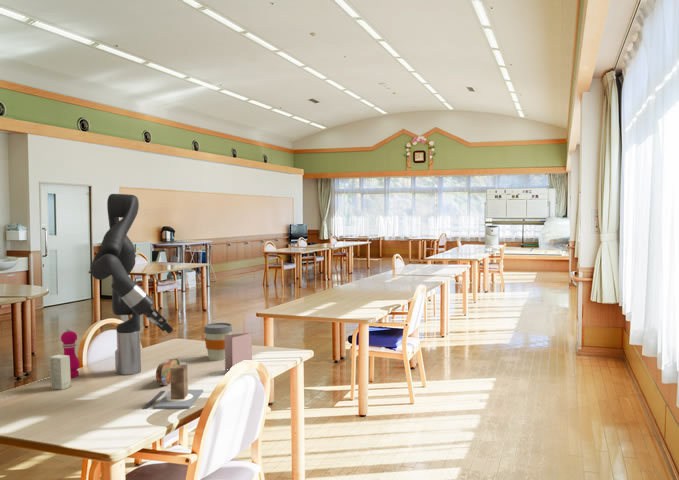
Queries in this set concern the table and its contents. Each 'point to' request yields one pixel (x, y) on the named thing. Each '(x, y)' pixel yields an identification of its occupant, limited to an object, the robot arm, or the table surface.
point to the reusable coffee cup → (216, 339)
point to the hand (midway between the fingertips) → (168, 330)
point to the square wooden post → (179, 382)
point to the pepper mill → (71, 350)
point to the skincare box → (60, 371)
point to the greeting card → (237, 349)
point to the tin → (165, 371)
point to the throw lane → (174, 400)
